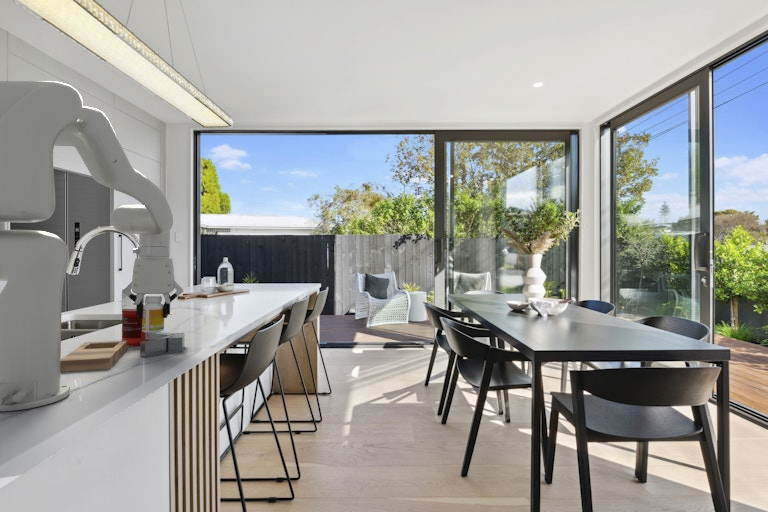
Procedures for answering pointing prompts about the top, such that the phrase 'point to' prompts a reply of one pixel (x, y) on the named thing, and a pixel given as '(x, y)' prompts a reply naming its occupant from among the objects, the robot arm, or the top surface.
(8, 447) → the top surface
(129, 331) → the canned food
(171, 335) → the v block
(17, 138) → the robot arm
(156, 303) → the supplement bottle
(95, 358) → the wooden board with cutout
